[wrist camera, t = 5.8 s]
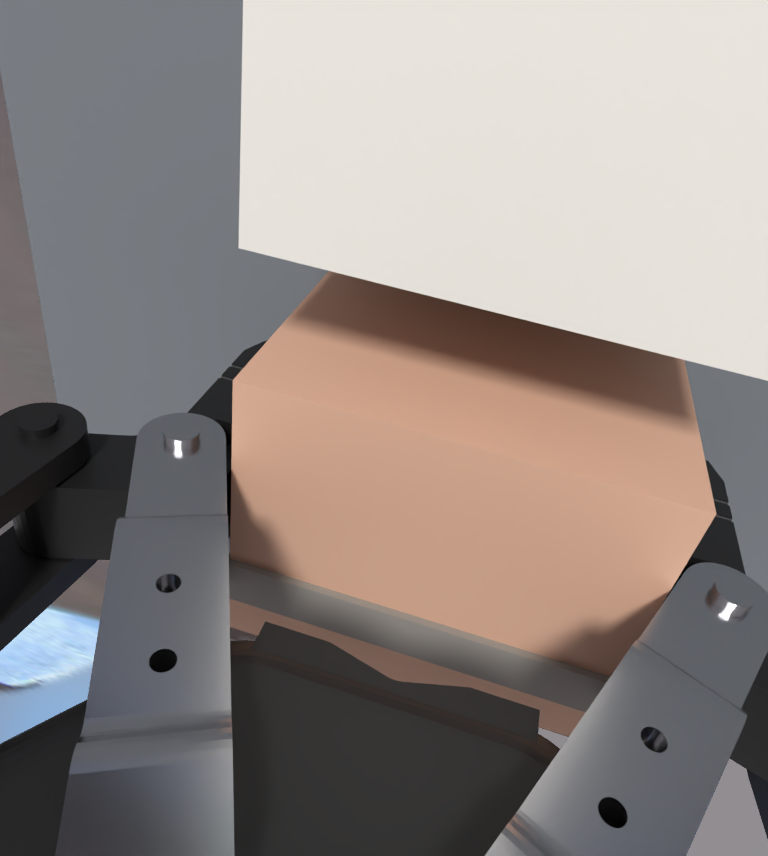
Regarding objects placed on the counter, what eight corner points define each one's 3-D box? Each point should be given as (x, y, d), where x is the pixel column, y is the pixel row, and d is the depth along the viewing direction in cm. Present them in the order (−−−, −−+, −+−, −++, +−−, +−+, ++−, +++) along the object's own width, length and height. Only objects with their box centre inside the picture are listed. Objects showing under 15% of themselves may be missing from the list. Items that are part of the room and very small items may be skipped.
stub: (680, 328, 12) (722, 522, 8) (587, 530, 15) (582, 748, 11) (346, 246, 13) (224, 383, 8) (322, 454, 16) (222, 631, 11)
